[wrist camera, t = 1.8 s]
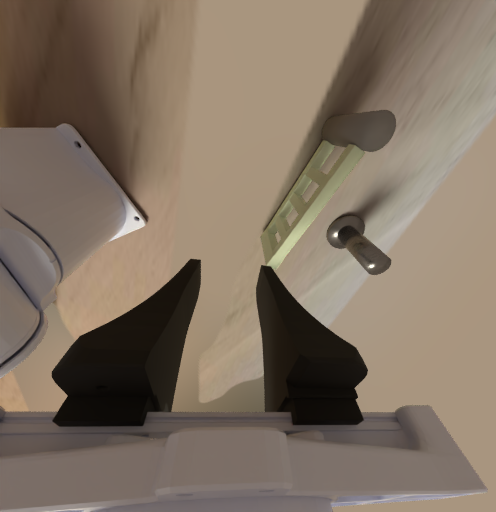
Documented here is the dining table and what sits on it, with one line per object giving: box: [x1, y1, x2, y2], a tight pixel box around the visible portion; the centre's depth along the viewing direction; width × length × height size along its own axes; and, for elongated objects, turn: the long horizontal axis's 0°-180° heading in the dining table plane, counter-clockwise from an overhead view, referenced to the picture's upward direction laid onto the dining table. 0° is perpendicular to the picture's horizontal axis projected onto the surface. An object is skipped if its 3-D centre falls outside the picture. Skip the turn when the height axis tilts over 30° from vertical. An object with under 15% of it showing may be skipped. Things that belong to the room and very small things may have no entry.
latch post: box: [327, 215, 391, 275], centre depth 19 cm, size 4×4×6 cm
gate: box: [261, 110, 396, 270], centre depth 16 cm, size 12×2×6 cm, turn 152°
